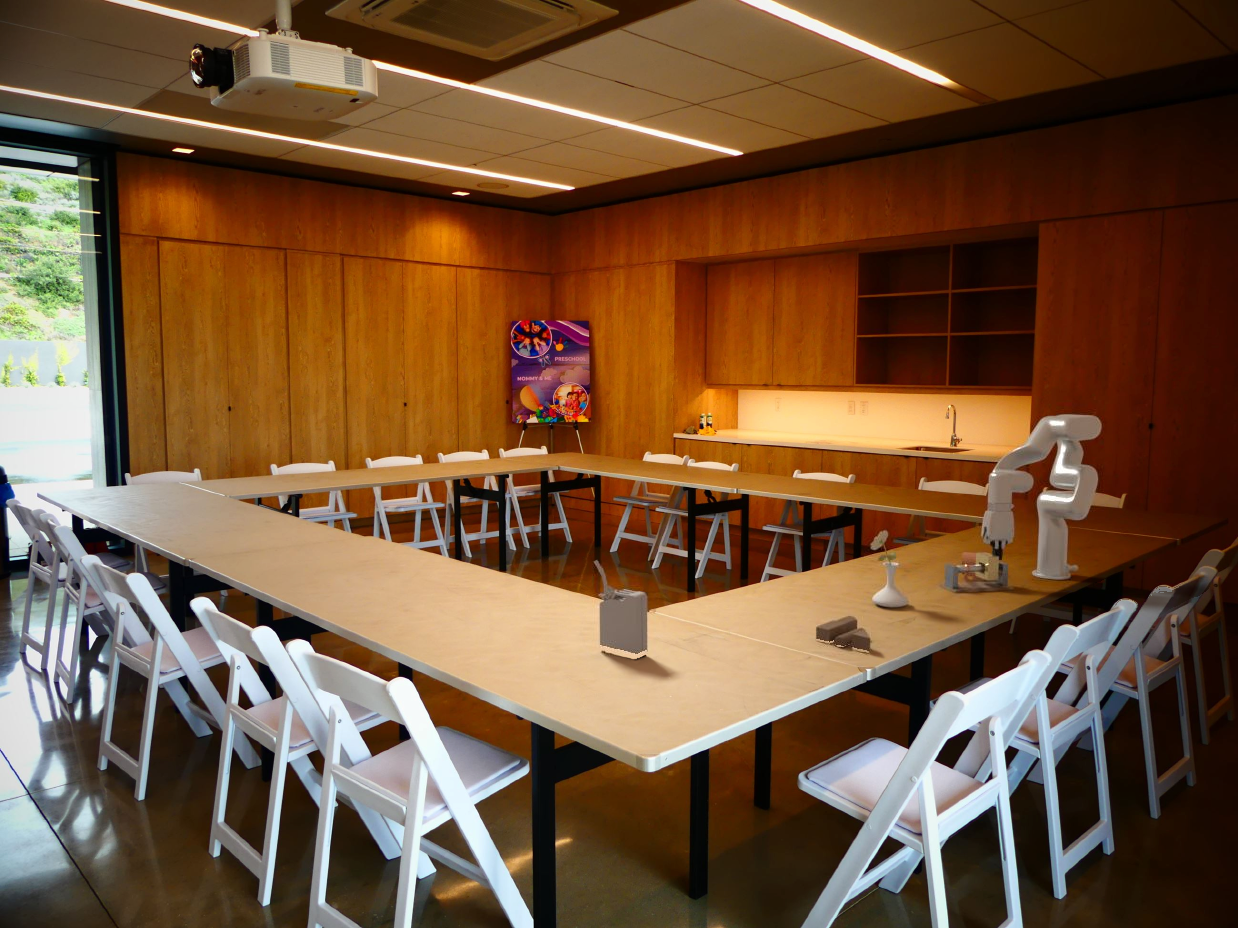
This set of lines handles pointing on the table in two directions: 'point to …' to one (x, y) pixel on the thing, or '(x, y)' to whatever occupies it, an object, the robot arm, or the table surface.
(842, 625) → the wooden block set
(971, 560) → the crank
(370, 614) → the table surface
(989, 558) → the collar
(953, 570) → the pipe rail
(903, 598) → the flower in vase
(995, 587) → the base board
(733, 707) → the table surface
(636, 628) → the jerry can
